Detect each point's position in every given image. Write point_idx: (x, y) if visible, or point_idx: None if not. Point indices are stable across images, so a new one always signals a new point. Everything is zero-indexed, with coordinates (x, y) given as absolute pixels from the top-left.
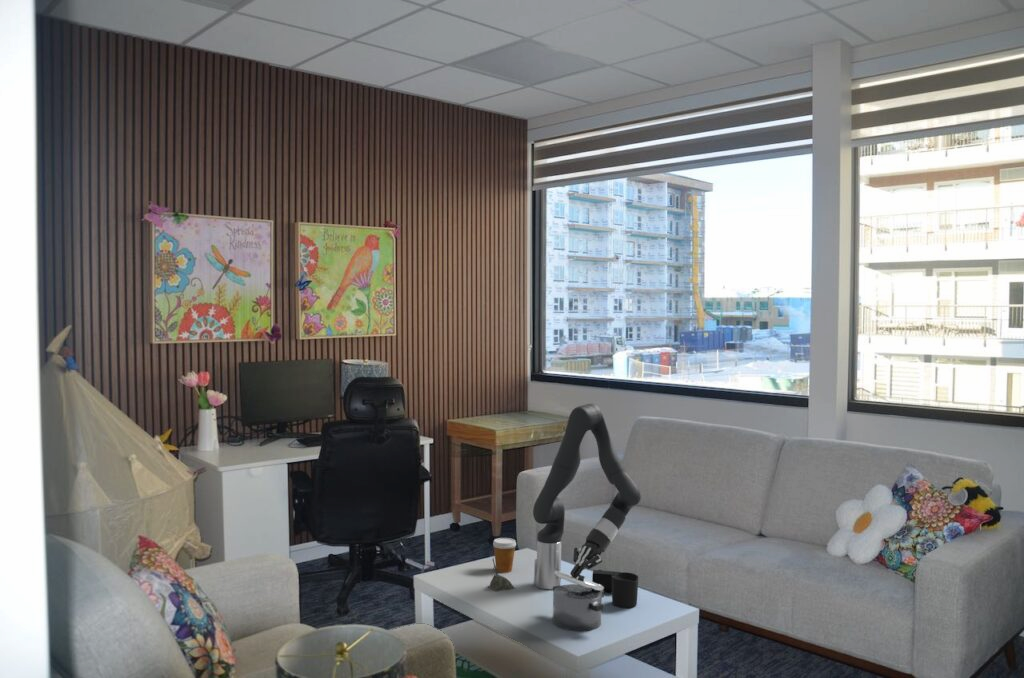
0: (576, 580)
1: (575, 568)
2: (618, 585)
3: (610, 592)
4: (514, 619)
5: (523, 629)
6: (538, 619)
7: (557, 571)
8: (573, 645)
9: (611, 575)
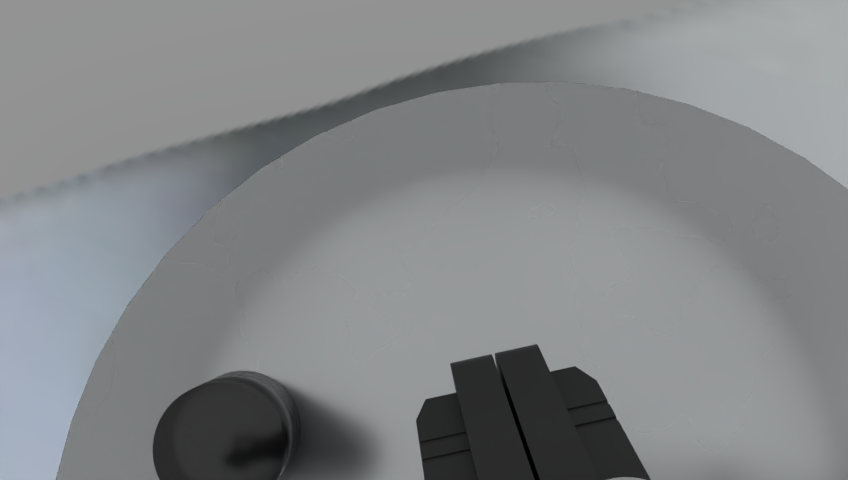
0: (147, 287)
1: (517, 432)
2: None
3: None
4: (715, 73)
5: (495, 68)
6: None
7: (771, 194)
8: (73, 280)
9: None
